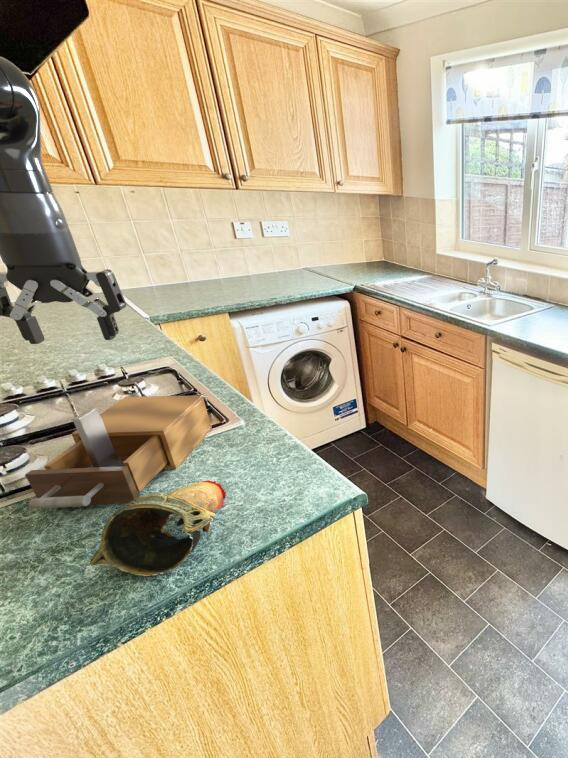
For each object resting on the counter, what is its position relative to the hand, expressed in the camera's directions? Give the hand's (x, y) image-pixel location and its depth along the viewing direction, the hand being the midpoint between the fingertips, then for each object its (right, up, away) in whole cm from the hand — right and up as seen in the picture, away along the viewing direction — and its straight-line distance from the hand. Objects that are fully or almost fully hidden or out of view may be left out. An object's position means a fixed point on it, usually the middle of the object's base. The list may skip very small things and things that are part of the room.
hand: (75, 340), depth 64 cm
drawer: (-4, -25, +10) cm, 27 cm away
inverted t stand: (-4, -23, +11) cm, 26 cm away
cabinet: (-7, -20, +22) cm, 31 cm away
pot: (+16, -32, 0) cm, 36 cm away
